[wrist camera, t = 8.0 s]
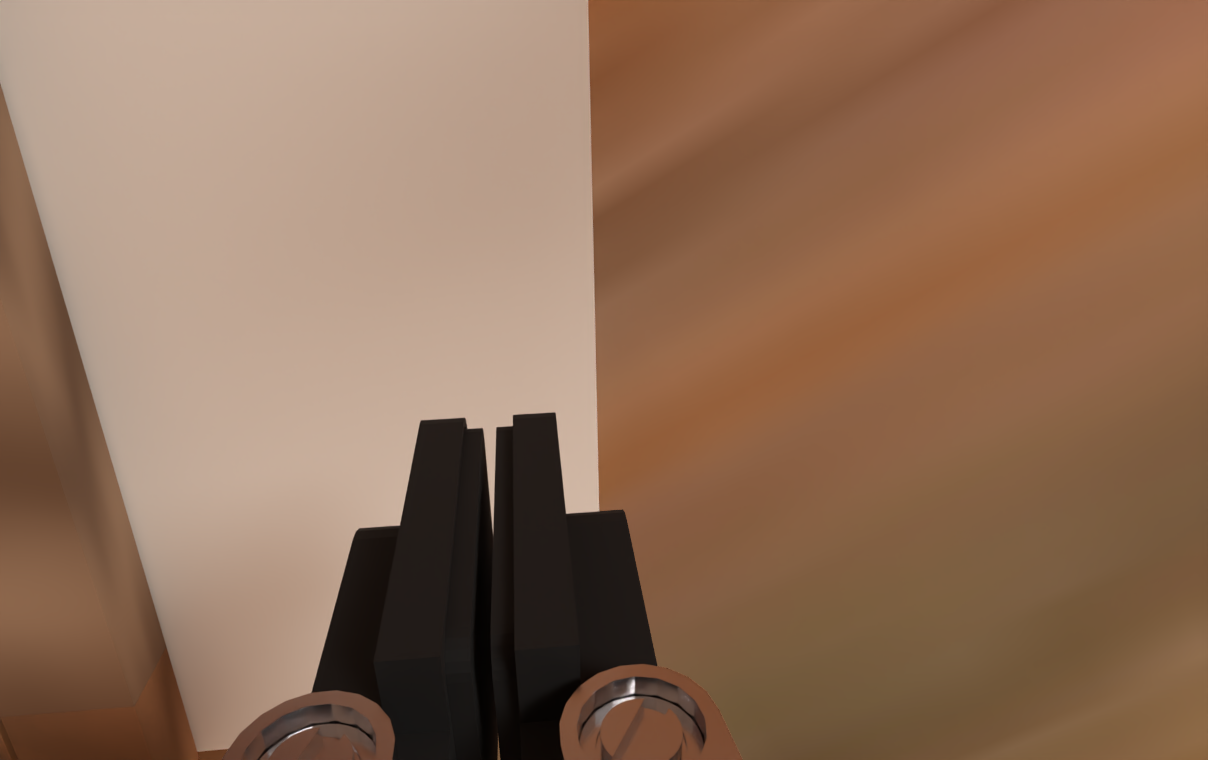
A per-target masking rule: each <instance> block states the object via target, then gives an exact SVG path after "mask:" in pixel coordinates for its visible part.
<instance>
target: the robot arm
mask: <svg viewBox="0 0 1208 760" xmlns="http://www.w3.org/2000/svg"><path fill="white" fill-rule="evenodd" d="M498 738H499V748H500V758H501V760H743V759H742V757H741V755H740V753H739V751H738V749H737V747H736V744H735V742H734V740H733V738H732V736H731V734H730V732H729V730H728V727H727V725H726V723H725V721H724V719H723V717H722V715H721V713H720V710H719V709H718V707H717V706H716V704H715V703H714V701H713V700H712V699H711V697H710V696H709V694H708V693H707V691H706V690H704V689H703V688H702V687H700V686H699V685H698V684H697V683H695V682H694V681H693V680H692V679H690V678H689V677H687V676H685V675H683V674H680V673H678V672H676V671H673V670H671V669H669V668H665V667H659V666H657V662H656V657H655V653H654V648H653V643H652V638H651V633H650V629H649V624H648V619H647V614H646V610H645V605H644V600H643V595H642V591H641V586H640V581H639V576H638V571H637V567H636V562H635V557H634V552H633V548H632V543H631V538H630V533H629V529H628V524H627V519H626V516H625V512H624V511H623V510H611V511H597V512H583V513H569V514H566V508H565V499H564V489H563V479H562V469H561V460H560V450H559V440H558V430H557V421H556V413H555V412H552V413H535V414H518V415H513V426H507V427H496V453H495V488H494V524H493V529H492V517H491V506H490V495H489V484H488V473H487V462H486V451H485V440H484V431H483V428H474V429H467V423H466V419H465V418H451V419H434V420H421V421H420V424H419V429H418V435H417V440H416V445H415V450H414V455H413V460H412V466H411V471H410V476H409V481H408V486H407V491H406V497H405V502H404V507H403V512H402V517H401V522H400V525H398V526H384V527H369V528H359V529H358V530H357V531H356V532H355V535H354V538H353V541H352V544H351V548H350V552H349V555H348V559H347V563H346V566H345V570H344V574H343V578H342V581H341V585H340V589H339V592H338V596H337V600H336V603H335V607H334V611H333V615H332V618H331V622H330V626H329V629H328V633H327V637H326V640H325V644H324V648H323V652H322V655H321V659H320V663H319V666H318V670H317V674H316V677H315V681H314V685H313V689H312V692H311V693H309V694H306V695H303V696H300V697H296V698H293V699H290V700H287V701H285V702H283V703H281V704H279V705H278V706H276V707H274V708H272V709H270V710H269V711H267V712H265V713H263V714H262V715H260V716H259V717H258V718H257V719H256V720H254V721H253V722H252V723H251V724H250V725H249V726H248V727H246V728H245V729H244V730H243V731H242V732H241V733H240V734H239V735H238V737H237V738H236V739H235V741H234V742H233V744H232V745H231V746H230V748H229V749H228V751H227V752H226V753H225V755H224V757H223V758H222V760H497V755H498Z"/></svg>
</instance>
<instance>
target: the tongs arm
mask: <svg viewBox="0 0 1208 760" xmlns="http://www.w3.org/2000/svg"><path fill="white" fill-rule="evenodd" d="M0 718H1V720H2V722H3V725H4V727H5V729H6V732H7V734H8V737H9V739H10V741H11V744H12V746H13V748H14V751H15V753H16V756H17V758H18V760H199V756H198V752H197V749H196V746H195V742H194V739H193V735H192V732H191V729H190V725H189V722H188V719H187V715H186V712H185V708H184V705H183V702H182V698H181V695H180V691H179V688H178V685H177V681H176V678H175V674H174V671H173V668H172V664H171V661H170V657H169V654H168V651H167V647H166V644H165V640H164V637H163V634H162V630H161V627H160V623H159V620H158V617H157V613H156V610H155V606H154V603H153V600H152V596H151V593H150V590H149V586H148V583H147V579H146V576H145V573H144V569H143V566H142V562H141V559H140V556H139V552H138V549H137V545H136V542H135V539H134V535H133V532H132V528H131V525H130V522H129V518H128V515H127V511H126V508H125V505H124V501H123V498H122V494H121V491H120V488H119V484H118V481H117V478H116V474H115V471H114V467H113V464H112V461H111V457H110V454H109V450H108V447H107V444H106V440H105V437H104V433H103V430H102V427H101V423H100V420H99V416H98V413H97V410H96V406H95V403H94V399H93V396H92V393H91V389H90V386H89V382H88V379H87V376H86V372H85V369H84V365H83V362H82V359H81V355H80V352H79V349H78V345H77V342H76V338H75V335H74V332H73V328H72V325H71V321H70V318H69V315H68V311H67V308H66V304H65V301H64V298H63V294H62V291H61V287H60V284H59V281H58V277H57V274H56V270H55V267H54V264H53V260H52V257H51V253H50V250H49V247H48V243H47V240H46V236H45V233H44V230H43V226H42V223H41V220H40V216H39V213H38V209H37V206H36V203H35V199H34V196H33V192H32V189H31V186H30V182H29V179H28V175H27V172H26V169H25V165H24V162H23V158H22V155H21V152H20V148H19V145H18V141H17V138H16V135H15V131H14V128H13V124H12V121H11V118H10V114H9V111H8V107H7V104H6V101H5V97H4V94H3V91H2V87H1V84H0Z"/></svg>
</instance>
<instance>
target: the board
mask: <svg viewBox="0 0 1208 760" xmlns="http://www.w3.org/2000/svg"><path fill="white" fill-rule="evenodd" d="M0 84H1V87H2V91H3V94H4V97H5V101H6V104H7V107H8V111H9V114H10V118H11V121H12V124H13V128H14V131H15V135H16V138H17V141H18V145H19V148H20V152H21V155H22V158H23V162H24V165H25V169H26V172H27V175H28V179H29V182H30V186H31V189H32V192H33V196H34V199H35V203H36V206H37V209H38V213H39V216H40V220H41V223H42V226H43V230H44V233H45V236H46V240H47V243H48V247H49V250H50V253H51V257H52V260H53V264H54V267H55V270H56V274H57V277H58V281H59V284H60V287H61V291H62V294H63V298H64V301H65V304H66V308H67V311H68V315H69V318H70V321H71V325H72V328H73V332H74V335H75V338H76V342H77V345H78V349H79V352H80V355H81V359H82V362H83V365H84V369H85V372H86V376H87V379H88V382H89V386H90V389H91V393H92V396H93V399H94V403H95V406H96V410H97V413H98V416H99V420H100V423H101V427H102V430H103V433H104V437H105V440H106V444H107V447H108V450H109V454H110V457H111V461H112V464H113V467H114V471H115V474H116V478H117V481H118V484H119V488H120V491H121V494H122V498H123V501H124V505H125V508H126V511H127V515H128V518H129V522H130V525H131V528H132V532H133V535H134V539H135V542H136V545H137V549H138V552H139V556H140V559H141V562H142V566H143V569H144V573H145V576H146V579H147V583H148V586H149V590H150V593H151V596H152V600H153V603H154V606H155V610H156V613H157V617H158V620H159V623H160V627H161V630H162V634H163V637H164V640H165V644H166V647H167V651H168V654H169V657H170V661H171V664H172V668H173V671H174V674H175V678H176V681H177V685H178V688H179V691H180V695H181V698H182V702H183V705H184V708H185V712H186V715H187V719H188V722H189V725H190V729H191V732H192V735H193V739H194V742H195V746H196V749H197V752H199V751H210V750H221V749H229V748H230V746H231V745H232V744H233V742H234V741H235V739H236V738H237V737H238V735H239V734H240V733H241V732H242V731H243V730H244V729H245V728H246V727H248V726H249V725H250V724H251V723H252V722H253V721H254V720H256V719H257V718H258V717H259V716H260V715H262V714H263V713H265V712H267V711H269V710H270V709H272V708H274V707H276V706H278V705H279V704H281V703H283V702H285V701H287V700H290V699H293V698H296V697H300V696H303V695H306V694H309V693H311V692H312V689H313V685H314V681H315V677H316V674H317V670H318V666H319V663H320V659H321V655H322V652H323V648H324V644H325V640H326V637H327V633H328V629H329V626H330V622H331V618H332V615H333V611H334V607H335V603H336V600H337V596H338V592H339V589H340V585H341V581H342V578H343V574H344V570H345V566H346V563H347V559H348V555H349V552H350V548H351V544H352V541H353V538H354V535H355V532H356V531H357V530H358V529H359V528H369V527H384V526H398V525H400V522H401V517H402V512H403V507H404V502H405V497H406V491H407V486H408V481H409V476H410V471H411V466H412V460H413V455H414V450H415V445H416V440H417V435H418V429H419V424H420V421H421V420H434V419H451V418H465V419H466V423H467V429H474V428H483V431H484V440H485V451H486V462H487V473H488V484H489V495H490V506H491V517H492V529H493V524H494V488H495V453H496V427H507V426H513V415H518V414H535V413H552V412H555V413H556V421H557V430H558V440H559V450H560V460H561V469H562V479H563V489H564V499H565V508H566V514H569V513H583V512H597V511H599V484H598V438H597V391H596V345H595V299H594V252H593V206H592V159H591V113H590V66H589V20H588V0H0Z"/></svg>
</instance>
